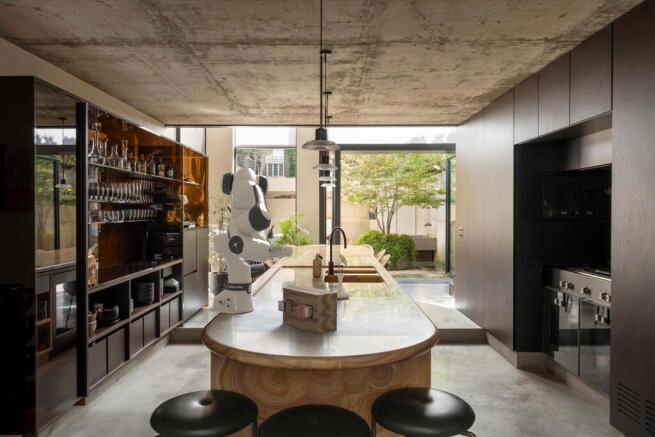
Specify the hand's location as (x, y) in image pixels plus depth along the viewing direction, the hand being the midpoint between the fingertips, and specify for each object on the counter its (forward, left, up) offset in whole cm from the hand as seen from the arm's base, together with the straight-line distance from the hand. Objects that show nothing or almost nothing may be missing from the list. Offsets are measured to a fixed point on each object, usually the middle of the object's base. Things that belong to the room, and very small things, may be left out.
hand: (279, 256), depth 217 cm
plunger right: (+14, -4, -24) cm, 28 cm away
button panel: (+12, +5, -31) cm, 33 cm away
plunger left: (+3, +4, -24) cm, 24 cm away
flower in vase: (+9, +77, -31) cm, 83 cm away
